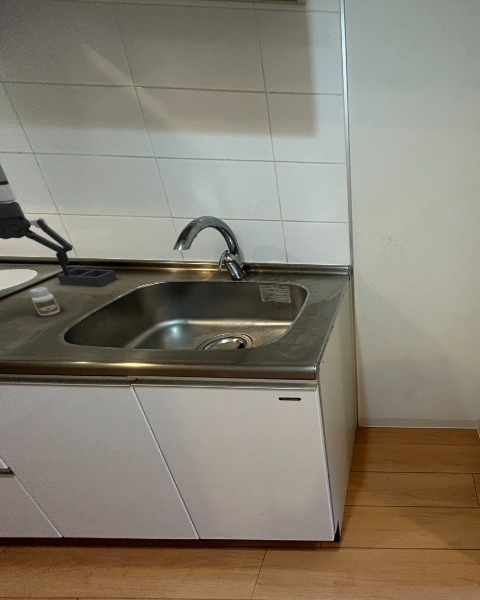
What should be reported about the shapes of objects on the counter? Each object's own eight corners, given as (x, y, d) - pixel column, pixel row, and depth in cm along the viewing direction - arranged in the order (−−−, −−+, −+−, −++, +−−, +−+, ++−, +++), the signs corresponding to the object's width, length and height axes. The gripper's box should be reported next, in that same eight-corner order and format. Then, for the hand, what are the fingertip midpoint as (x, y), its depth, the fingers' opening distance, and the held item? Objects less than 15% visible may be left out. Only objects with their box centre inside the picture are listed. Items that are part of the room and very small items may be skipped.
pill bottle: (41, 317, 90) (29, 293, 86) (37, 313, 92) (25, 289, 88) (62, 312, 93) (51, 289, 90) (57, 307, 95) (46, 285, 92)
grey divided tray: (100, 286, 109) (96, 277, 108) (60, 284, 109) (56, 275, 107) (117, 279, 116) (113, 270, 114) (79, 276, 115) (75, 268, 114)
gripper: (-96, 207, 68) (-42, 293, 77) (63, 202, 83) (92, 274, 92) (-82, 202, 73) (-32, 283, 83) (65, 198, 88) (93, 267, 97)
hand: (34, 279), depth 87 cm, fingers open, 13 cm apart
